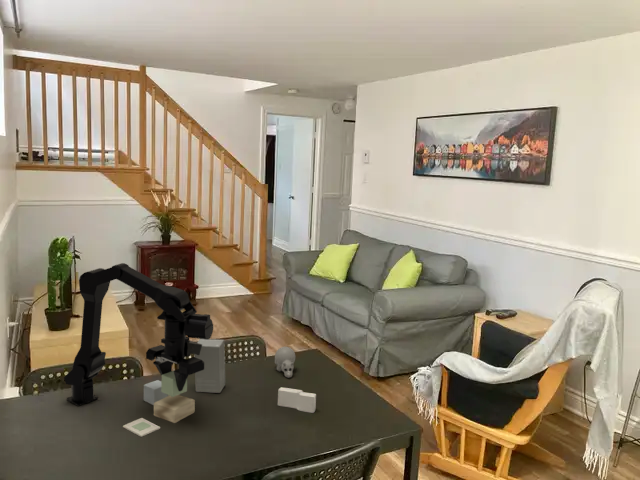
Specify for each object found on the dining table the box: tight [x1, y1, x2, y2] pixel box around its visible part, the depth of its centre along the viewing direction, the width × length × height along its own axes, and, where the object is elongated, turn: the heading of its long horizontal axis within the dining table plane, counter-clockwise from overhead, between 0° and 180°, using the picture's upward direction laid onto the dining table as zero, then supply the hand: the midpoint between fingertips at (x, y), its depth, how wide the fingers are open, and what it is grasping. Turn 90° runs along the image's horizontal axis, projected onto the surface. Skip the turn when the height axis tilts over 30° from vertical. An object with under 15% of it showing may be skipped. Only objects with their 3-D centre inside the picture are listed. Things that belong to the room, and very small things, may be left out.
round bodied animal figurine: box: [274, 346, 296, 379], centre depth 186 cm, size 7×12×8 cm, turn 13°
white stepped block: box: [277, 387, 317, 414], centre depth 160 cm, size 15×11×6 cm
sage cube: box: [160, 370, 188, 397], centre depth 152 cm, size 5×5×5 cm
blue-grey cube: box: [143, 379, 169, 406], centre depth 161 cm, size 5×5×5 cm
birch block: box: [153, 394, 196, 424], centre depth 153 cm, size 8×8×4 cm
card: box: [122, 417, 161, 437], centre depth 144 cm, size 8×6×1 cm
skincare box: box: [193, 338, 226, 394], centre depth 169 cm, size 8×7×16 cm
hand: (174, 388), depth 152 cm, fingers closed on sage cube, 5 cm apart
